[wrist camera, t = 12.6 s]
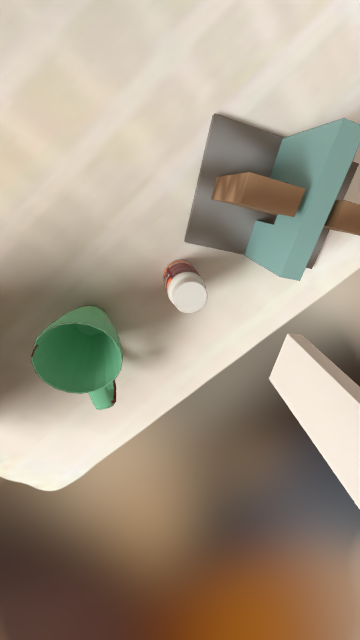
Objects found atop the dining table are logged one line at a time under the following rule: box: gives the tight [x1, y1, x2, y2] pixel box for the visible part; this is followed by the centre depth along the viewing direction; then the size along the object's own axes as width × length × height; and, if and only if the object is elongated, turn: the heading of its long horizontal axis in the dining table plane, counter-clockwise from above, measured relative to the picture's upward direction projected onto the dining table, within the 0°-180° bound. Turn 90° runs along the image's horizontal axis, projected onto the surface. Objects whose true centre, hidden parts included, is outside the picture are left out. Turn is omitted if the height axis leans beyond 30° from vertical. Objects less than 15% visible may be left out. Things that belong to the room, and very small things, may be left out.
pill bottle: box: [163, 260, 207, 313], centre depth 33 cm, size 5×5×8 cm
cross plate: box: [244, 118, 360, 281], centre depth 29 cm, size 14×2×10 cm, turn 167°
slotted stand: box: [184, 114, 360, 269], centre depth 29 cm, size 14×20×11 cm
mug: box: [31, 306, 123, 410], centre depth 34 cm, size 15×10×10 cm
